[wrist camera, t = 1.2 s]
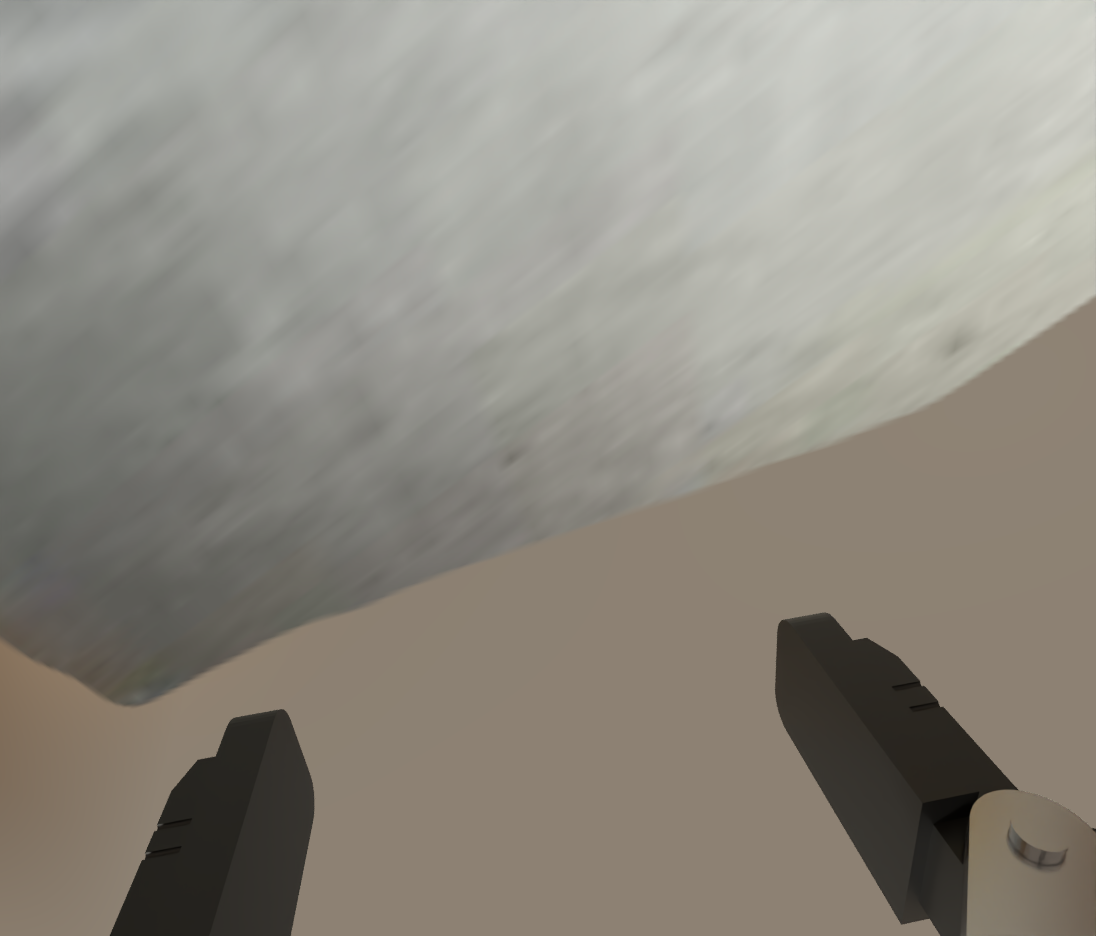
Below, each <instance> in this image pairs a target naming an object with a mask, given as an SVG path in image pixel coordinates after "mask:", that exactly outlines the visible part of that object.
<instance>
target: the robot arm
mask: <svg viewBox="0 0 1096 936" xmlns="http://www.w3.org/2000/svg"><path fill="white" fill-rule="evenodd" d="M775 694H776V702H777V707H778V711H779V714H780V717H781V720H782V722H783V725H784V727H785V729H786V731H787V732H788V734H789V736H790V737H791V739H792V741H793V742H794V744H795V746H796V748H797V749H798V751H799V753H800V754H801V756H802V758H803V759H804V761H805V763H806V764H807V766H808V768H809V769H810V771H811V773H812V775H813V776H814V778H815V780H816V781H817V783H818V785H819V786H820V788H821V790H822V791H823V793H824V795H825V796H826V798H827V800H828V801H829V803H830V805H831V806H832V808H833V810H834V812H835V813H836V815H837V817H838V818H839V820H840V822H841V824H842V825H843V827H844V829H845V830H846V832H847V834H848V835H849V837H850V839H851V840H852V842H853V843H854V845H855V847H856V849H857V851H858V852H859V854H860V855H861V857H862V859H863V860H864V862H865V864H866V866H867V867H868V869H869V871H870V872H871V874H872V876H873V877H874V879H875V880H876V883H877V884H878V886H879V888H880V889H881V891H882V893H883V894H884V896H885V897H886V899H887V901H888V903H889V904H890V906H891V908H892V910H893V911H894V913H895V915H896V916H897V918H898V920H899V921H900V923H901V924H906V923H911V922H915V921H920V920H924V919H929V918H930V920H931V921H932V923H933V925H934V926H935V928H936V929H937V931H938V932H939V934H940V936H1096V829H1094V828H1091V827H1090V826H1089V825H1088V824H1087V823H1086V822H1085V821H1083V820H1082V819H1081V818H1080V817H1079V816H1077V815H1076V814H1075V813H1073V812H1072V811H1070V810H1069V809H1067V808H1066V807H1064V806H1062V805H1060V804H1059V803H1057V802H1054V801H1052V800H1050V799H1048V798H1046V797H1043V796H1040V795H1037V794H1034V793H1030V792H1025V791H1019V790H1018V789H1017V788H1016V787H1015V786H1014V785H1013V784H1012V783H1011V782H1010V780H1009V779H1008V778H1007V777H1006V776H1005V775H1004V774H1003V773H1002V772H1001V770H1000V769H999V768H998V767H997V766H996V765H995V764H994V763H993V761H992V760H991V759H990V758H989V757H988V756H987V755H986V754H985V753H984V752H983V750H982V749H981V748H980V747H979V746H978V745H977V744H976V743H975V742H974V740H973V739H972V738H971V737H970V736H969V735H968V734H967V733H966V732H965V730H964V729H963V728H962V727H961V726H960V725H959V724H958V723H957V722H956V721H955V719H954V718H953V717H952V716H951V715H950V714H949V713H948V712H947V710H946V709H945V708H944V707H940V706H939V704H938V701H937V699H936V698H935V697H934V696H933V695H932V694H931V693H930V692H929V691H928V689H927V688H926V687H925V686H921V684H920V681H919V679H918V678H917V677H916V676H915V675H914V674H913V673H912V672H911V671H910V670H909V668H908V667H907V666H906V665H905V664H904V663H903V662H902V661H901V659H900V658H899V657H898V656H896V655H894V654H893V653H891V652H889V651H888V650H886V649H884V648H883V647H881V646H879V645H878V644H876V643H875V642H873V641H871V640H870V639H868V638H864V639H858V640H852V639H851V638H850V637H849V635H848V634H847V633H846V632H845V631H844V629H843V628H842V627H841V626H840V625H839V623H838V622H837V621H836V620H835V619H834V618H833V617H832V616H831V615H830V614H828V613H819V614H813V615H808V616H802V617H797V618H792V619H786V620H782V621H781V622H780V623H779V626H778V632H777V657H776V683H775ZM313 818H314V790H313V783H312V779H311V776H310V773H309V770H308V767H307V764H306V762H305V759H304V756H303V753H302V750H301V748H300V745H299V742H298V740H297V737H296V734H295V731H294V728H293V725H292V723H291V720H290V718H289V715H288V714H287V712H286V711H285V710H282V709H280V710H275V711H269V712H264V713H258V714H252V715H247V716H241V717H236V718H233V719H232V720H231V721H230V722H229V724H228V726H227V728H226V731H225V733H224V736H223V739H222V741H221V744H220V747H219V749H218V752H217V754H216V757H211V758H205V759H200V760H197V762H196V763H195V764H194V765H193V766H192V768H191V769H190V770H189V771H188V772H187V773H186V775H185V776H184V777H183V778H182V779H181V780H180V782H179V783H178V784H177V786H176V787H175V788H174V789H173V790H172V791H171V794H170V796H169V798H168V801H167V803H166V805H165V808H164V810H163V812H162V815H161V817H160V819H159V822H158V824H157V825H158V829H157V831H155V832H154V833H153V836H152V838H151V841H150V843H149V845H148V847H147V850H146V852H145V854H146V858H145V860H142V861H141V864H140V866H139V869H138V871H137V873H136V876H135V878H134V880H133V883H132V885H131V887H130V890H129V892H128V894H127V897H126V899H125V901H124V904H123V906H122V908H121V911H120V913H119V915H118V918H117V920H116V922H115V925H114V927H113V929H112V932H111V934H110V936H291V930H292V926H293V921H294V915H295V910H296V905H297V900H298V895H299V890H300V885H301V880H302V875H303V870H304V864H305V859H306V854H307V849H308V844H309V839H310V834H311V829H312V824H313Z"/></svg>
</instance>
